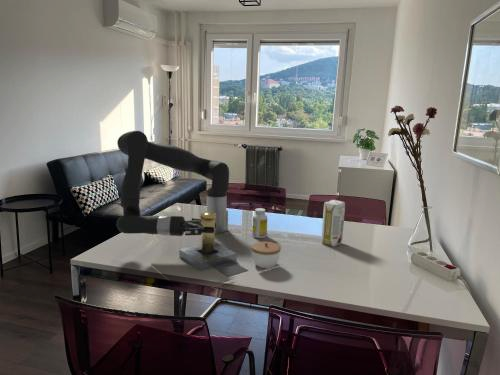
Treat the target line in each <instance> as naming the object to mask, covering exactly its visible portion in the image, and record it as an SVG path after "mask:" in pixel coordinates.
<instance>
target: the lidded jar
mask: <svg viewBox="0 0 500 375" xmlns="http://www.w3.org/2000/svg"><path fill="white" fill-rule="evenodd" d="M281 249H282V248H281V246H280V245H279V244H278V243H276V242H271V241H258V242H255V243H253V244H252V245H251V257H252V260H253V263H254V264H255V265H256V266H257V267H258V268H261V269H267V270H272V269H274V267H275V266H276V265H277V264H278V262H279V260H280V257H281V256H280V255H281Z"/></svg>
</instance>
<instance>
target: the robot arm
mask: <svg viewBox="0 0 500 375" xmlns="http://www.w3.org/2000/svg"><path fill="white" fill-rule="evenodd" d="M117 147H118V149H119V151H120V152H121V153H122V154H123V155H127V156H128V158H127V167H126V171H125V175H124V177H123V180H122V184H121V189H120V190H121V191H120V206H121V207H122V211H123V212H122V215H121V216H119V218H118V219H117V220H116V222H115V223H116V228H117V230H118V231H119V232H120V233H122V234H131V235H132V234H148V235H149V234H150V235H161V236H169V237H170V236H171V237H173V236H174V237H182V236H202V234H203V233H214V227H203V226H202V219H201V218H191V220H190V219H189V220H186V219H185V217H184V216H178V215H145V216H143V215H141V209H140V199H141V198H140V197H141V184H142V177H143V176H142V175H143V169H144V164H145V161H146V160H149V161H152V162H154V163H157V164H159V165H162V166H165V167H168V168H172V169H175V170H178V171H182V172H187V173H188V172H189V173H195V174H197V175H200V176H202V177H204V178H206V179H208V180H210V181H211V186H210V187H209V188H208V189H207V190H206V211H211V212H215V213H216V218H215V234H219V233H220V234H221V233H225V232H226V231H228V230H229V211H228V210H227V201H228V200H227V197H228V196H227V195H228V194H227V193H228V190H229V185H230V184H229V182H230V168H229V166H228V165H227V163H226V162H222V161H218V160H212V159H207V158H203V157H199V156H197V155H195V154H194V153H193V152H191V151H189V150H186V149H184V148H181V147H178V146H176V145H170V144H163V143H155V142H152V141H149V140H148V137H147V135H146V133H144V132H143V131H141V130H131V131H127V132H125V133H122V134H121V135H120V136H119V137H118V139H117Z"/></svg>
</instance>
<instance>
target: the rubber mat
mask: <svg viewBox="0 0 500 375" xmlns="http://www.w3.org/2000/svg"><path fill="white" fill-rule="evenodd" d="M213 269H215V270H216V271H218V272H220V273H221V274H222V275H224V276H226V277H227V278H229V277H232V276H235V275H239V274H243V273H245V272H248V271H249V269H247V268H245V267H243V265H240V264H238V263H237V262H236V261H235V262H231V263H227V264H224V265H220V266H217V267H213Z"/></svg>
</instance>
